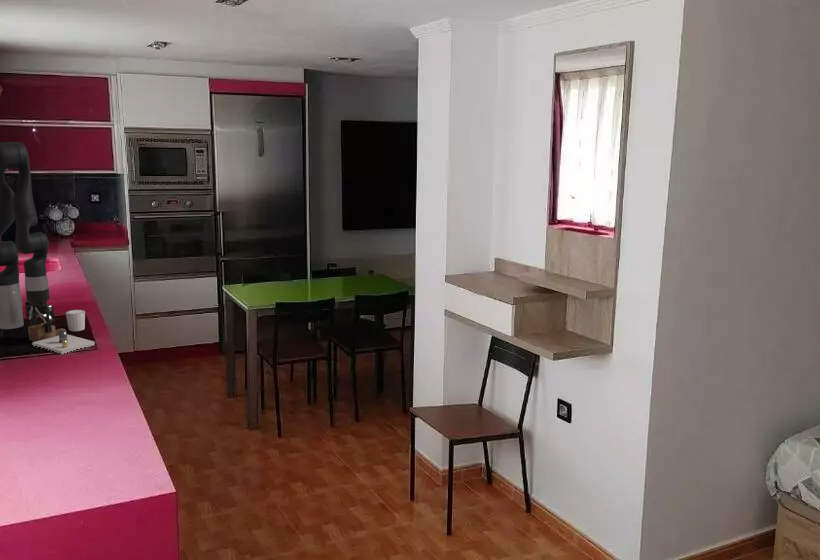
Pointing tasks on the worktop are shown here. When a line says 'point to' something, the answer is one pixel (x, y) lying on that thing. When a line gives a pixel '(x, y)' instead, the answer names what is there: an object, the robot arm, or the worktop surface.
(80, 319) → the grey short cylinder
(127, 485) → the worktop surface
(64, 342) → the dowel
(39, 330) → the open wooden box
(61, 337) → the post
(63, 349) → the board
